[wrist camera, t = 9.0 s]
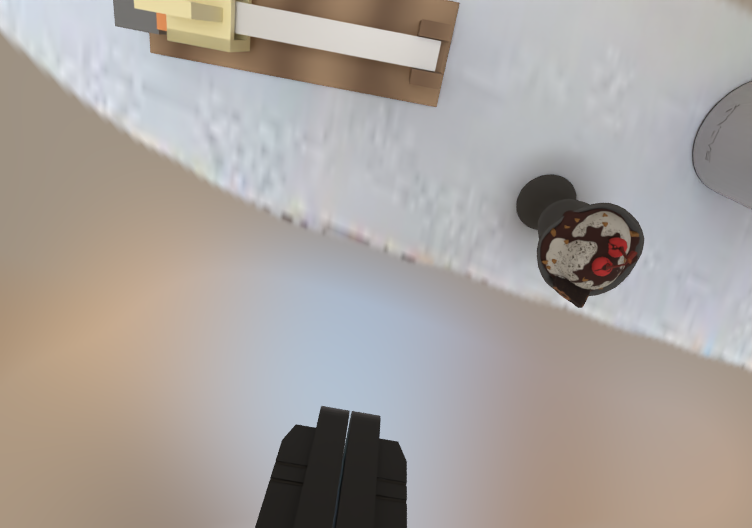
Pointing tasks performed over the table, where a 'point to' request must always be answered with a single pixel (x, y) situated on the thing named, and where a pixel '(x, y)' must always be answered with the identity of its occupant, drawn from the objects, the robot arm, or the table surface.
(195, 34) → the marker sleeve
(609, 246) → the sundae
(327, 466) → the robot arm
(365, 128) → the table surface
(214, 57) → the wooden bracket
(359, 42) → the sliding door bolt
